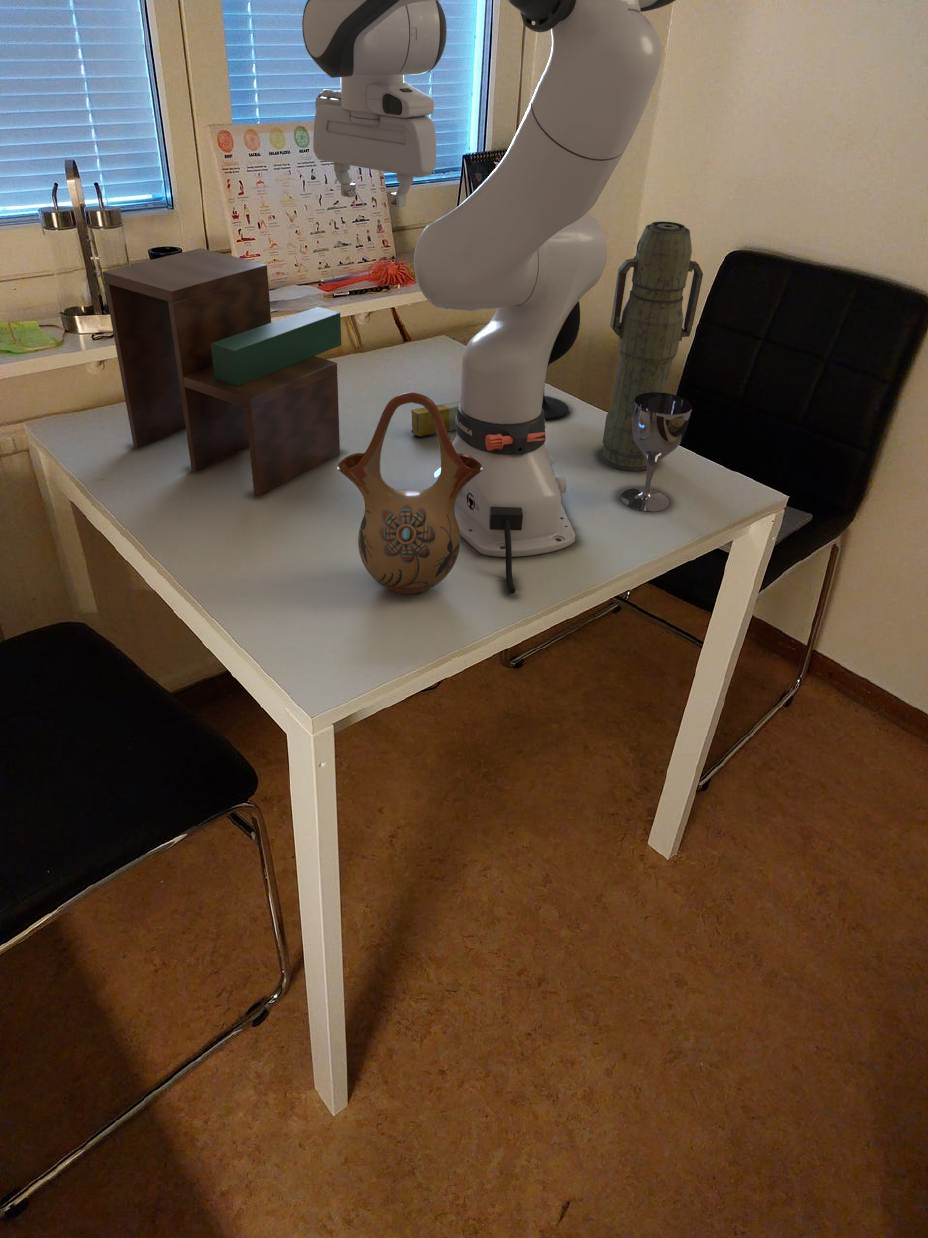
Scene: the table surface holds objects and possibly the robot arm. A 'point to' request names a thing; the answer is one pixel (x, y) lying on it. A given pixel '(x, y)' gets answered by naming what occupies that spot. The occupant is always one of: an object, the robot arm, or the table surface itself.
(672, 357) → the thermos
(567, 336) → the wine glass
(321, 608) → the table surface
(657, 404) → the wine glass
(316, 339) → the carton
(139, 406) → the step shelf
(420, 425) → the medication box
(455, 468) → the ceramic vessel
